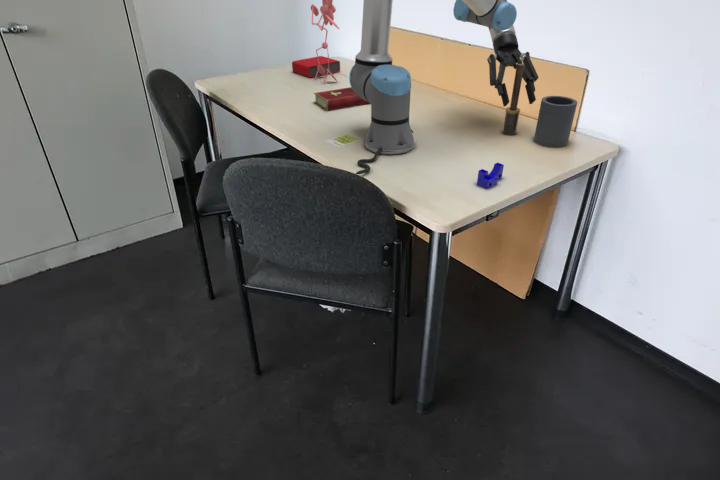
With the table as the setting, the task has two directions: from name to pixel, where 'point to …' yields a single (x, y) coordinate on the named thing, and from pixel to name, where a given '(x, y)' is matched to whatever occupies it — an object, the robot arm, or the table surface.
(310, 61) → the audio interface
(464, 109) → the table surface
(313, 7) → the figurine
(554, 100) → the grey cylindrical holder
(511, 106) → the brush
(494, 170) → the cable holder
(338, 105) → the hardcover book
